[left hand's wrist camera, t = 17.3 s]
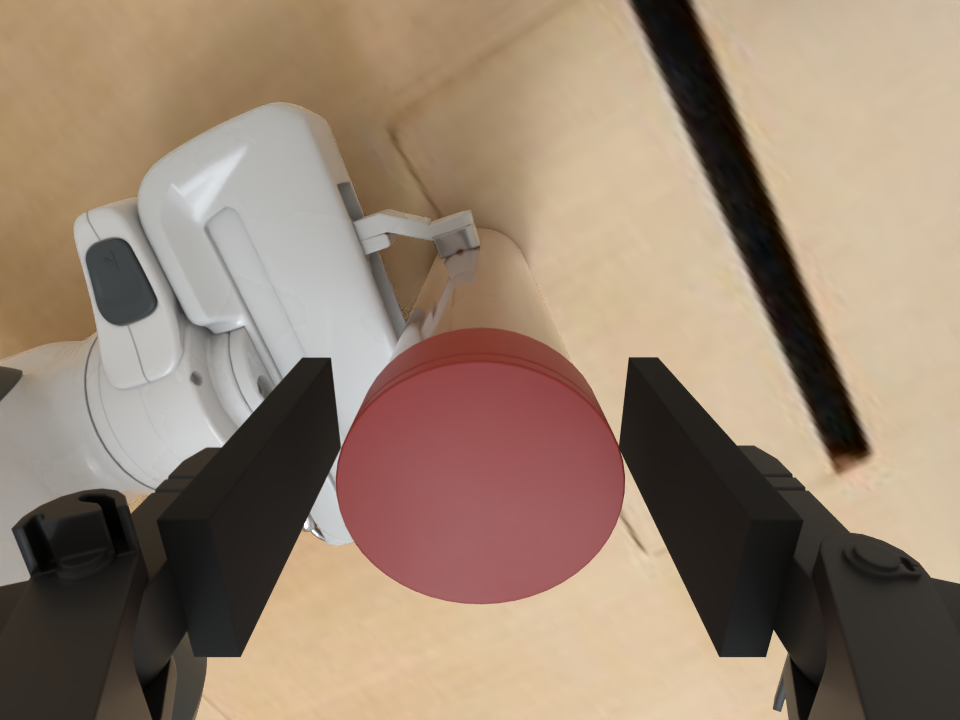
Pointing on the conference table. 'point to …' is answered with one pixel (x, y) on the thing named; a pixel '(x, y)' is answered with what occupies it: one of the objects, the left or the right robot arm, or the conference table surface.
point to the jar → (481, 296)
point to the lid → (480, 469)
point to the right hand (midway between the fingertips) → (498, 299)
